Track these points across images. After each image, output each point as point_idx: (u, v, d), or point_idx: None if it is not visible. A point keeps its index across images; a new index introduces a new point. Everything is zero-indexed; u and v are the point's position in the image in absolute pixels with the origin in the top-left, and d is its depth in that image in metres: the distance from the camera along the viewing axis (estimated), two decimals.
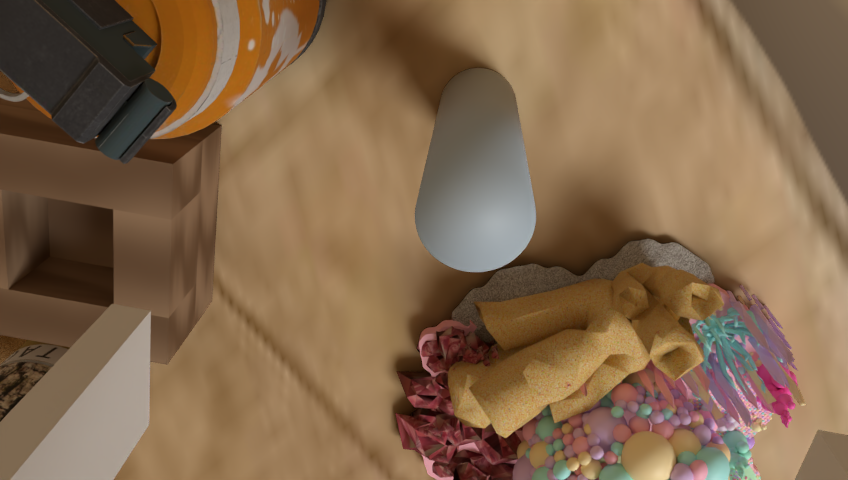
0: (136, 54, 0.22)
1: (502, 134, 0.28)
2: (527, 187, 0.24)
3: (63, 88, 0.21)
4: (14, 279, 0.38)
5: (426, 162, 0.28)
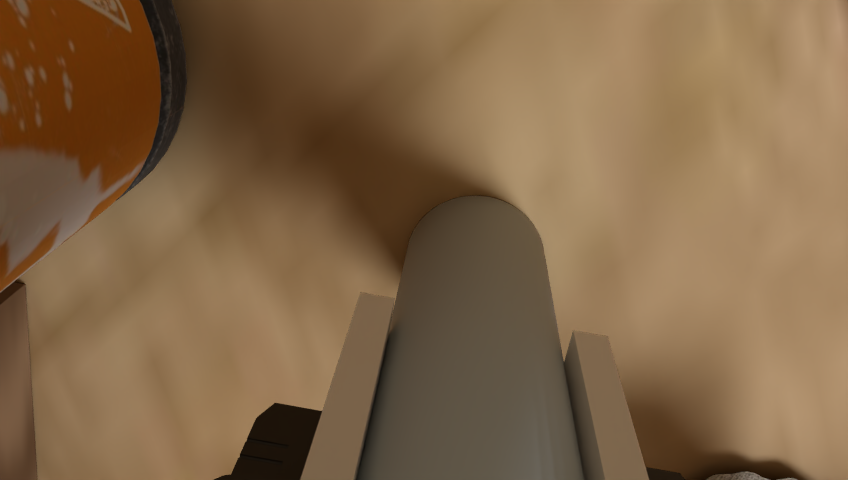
0: None
1: None
2: None
3: None
4: None
5: None
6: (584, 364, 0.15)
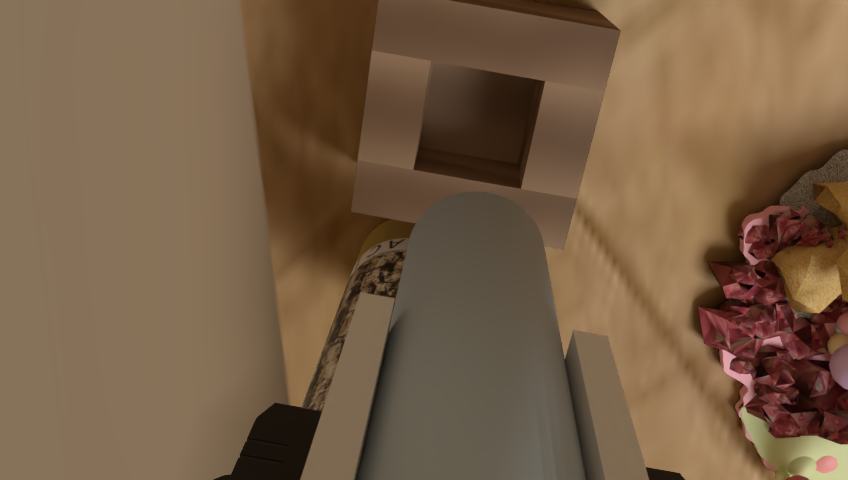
0: None
1: None
2: None
3: None
4: (415, 161, 0.38)
5: None
6: (585, 364, 0.15)
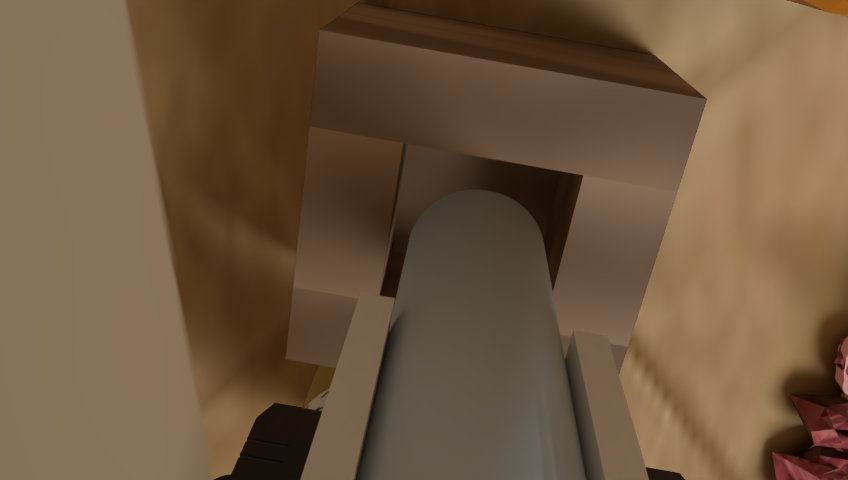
0: None
1: None
2: None
3: None
4: (381, 286, 0.25)
5: None
6: (584, 364, 0.15)
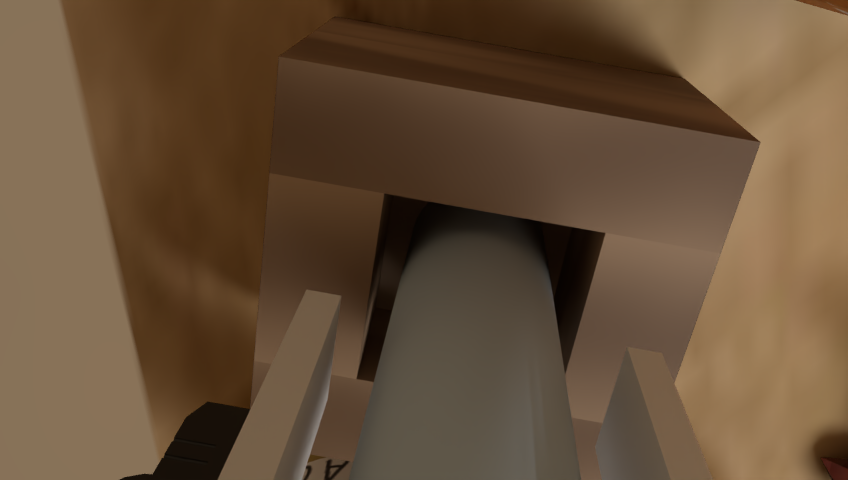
0: None
1: (527, 467, 0.11)
2: None
3: None
4: (360, 358, 0.21)
5: None
6: (643, 383, 0.15)
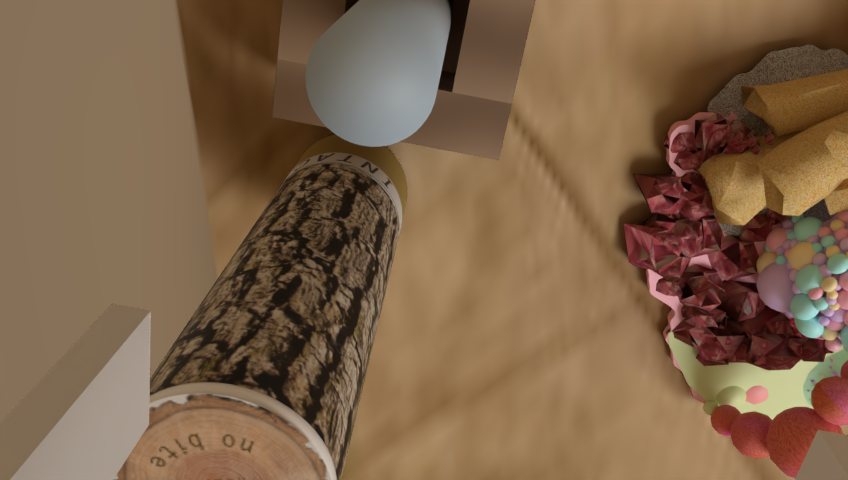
0: None
1: (412, 5, 0.26)
2: (427, 48, 0.22)
3: None
4: None
5: None
6: None
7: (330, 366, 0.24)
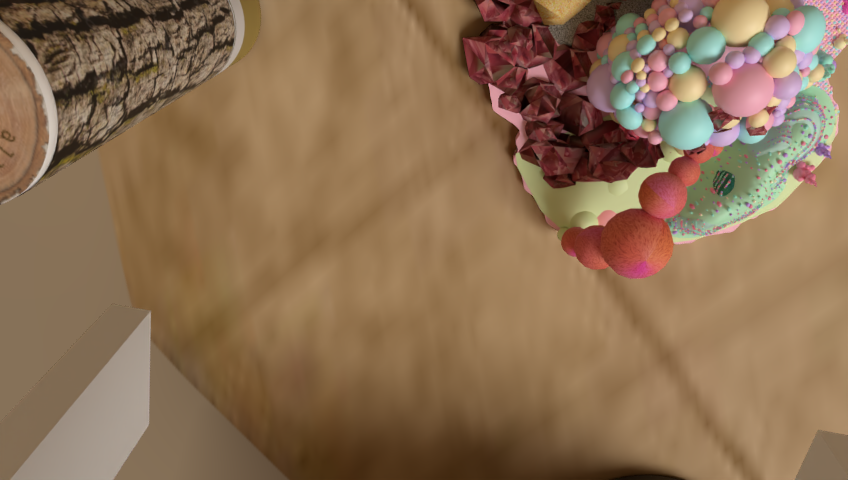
0: None
1: None
2: None
3: None
4: None
5: None
6: None
7: (71, 25, 0.26)
